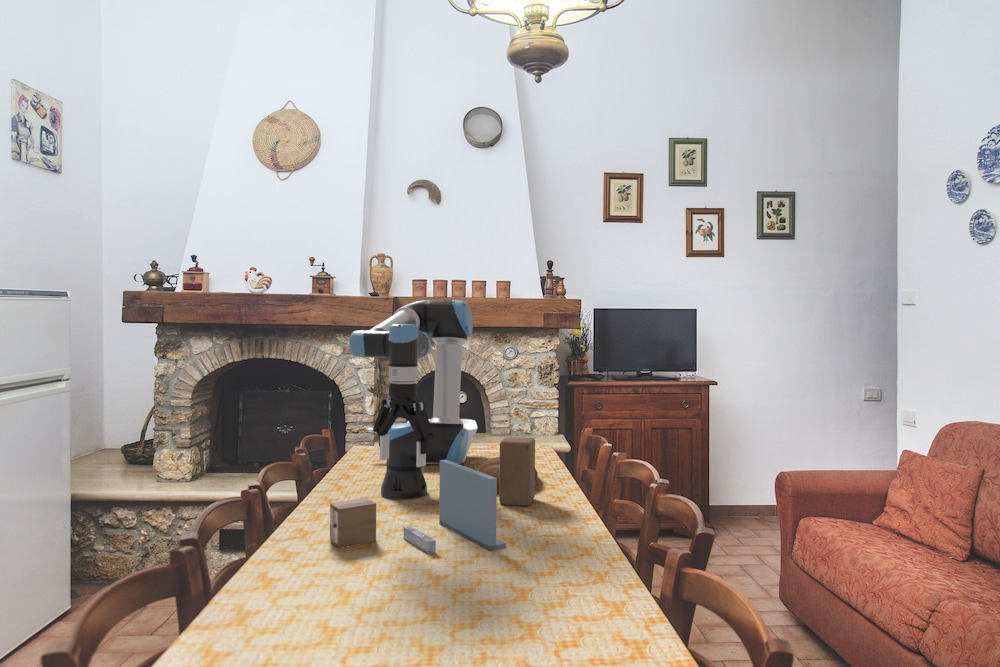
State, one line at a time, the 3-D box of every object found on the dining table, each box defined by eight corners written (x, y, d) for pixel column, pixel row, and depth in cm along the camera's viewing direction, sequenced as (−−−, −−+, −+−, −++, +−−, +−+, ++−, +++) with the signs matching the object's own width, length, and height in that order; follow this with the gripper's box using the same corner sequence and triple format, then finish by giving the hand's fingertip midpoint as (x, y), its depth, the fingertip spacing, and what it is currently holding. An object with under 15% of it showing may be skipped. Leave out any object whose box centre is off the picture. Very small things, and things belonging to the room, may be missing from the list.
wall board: (439, 523, 188) (439, 460, 188) (454, 521, 191) (455, 458, 191) (489, 550, 167) (490, 479, 166) (506, 547, 170) (506, 476, 169)
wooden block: (530, 507, 206) (530, 442, 206) (498, 505, 208) (499, 441, 208) (534, 498, 216) (535, 437, 215) (504, 496, 218) (505, 435, 217)
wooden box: (326, 542, 172) (326, 503, 172) (366, 534, 178) (366, 497, 178) (335, 549, 167) (335, 509, 167) (376, 541, 173) (376, 503, 173)
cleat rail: (403, 538, 175) (403, 527, 175) (410, 537, 177) (410, 525, 177) (428, 554, 164) (428, 542, 164) (435, 552, 165) (435, 540, 165)
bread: (474, 496, 219) (474, 470, 219) (477, 470, 256) (478, 449, 256) (540, 496, 219) (541, 471, 219) (534, 471, 256) (535, 449, 256)
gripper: (360, 380, 180) (359, 458, 181) (428, 386, 165) (427, 471, 166) (380, 379, 186) (380, 454, 187) (448, 384, 171) (447, 466, 172)
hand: (402, 462), depth 176 cm, fingers open, 13 cm apart
